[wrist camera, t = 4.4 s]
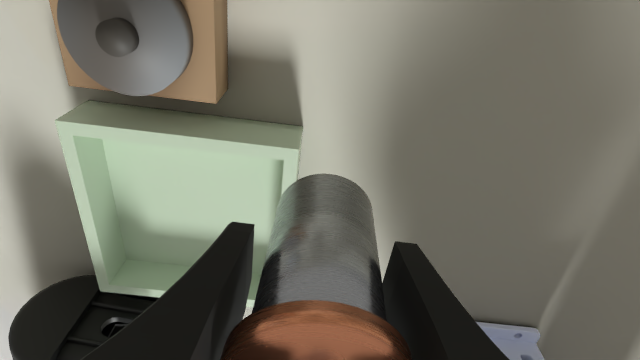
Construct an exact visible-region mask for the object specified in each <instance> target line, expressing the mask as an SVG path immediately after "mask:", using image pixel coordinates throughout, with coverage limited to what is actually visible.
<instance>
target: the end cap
mask: <svg viewBox="0 0 640 360" xmlns="http://www.w3.org/2000/svg"><path fill="white" fill-rule="evenodd" d="M158 298H159V297H149V296H140V295H130V294H121V293H111V292H101V291H100V289H99V285H98V282H97V278H96V275H86V276H80V277H74V278H70V279H67V280H63V281H61V282H58V283H56V284H53V285H51V286H49V287H48V288H46V289H44V290H42V291H41V292H39V293H38V294H36V295H35V296H34V297H32V298H31V299H30V300H29V301H28V302H27V303H26V304H25V305H24V306H23V307H22V308H21V309H20V311H19V312H18V313H17V315H16V316H15V318H14V320H13V322H12V324H11V327H10V332H9V346H10V351H11V354H12V357H13V360H80V359H82V358H83V357H85V356H86V355H88V354H89V353H90V352H92V351H93V350H95V349H96V348H97V347H99V346H100V345H101V344H103V343H104V342H105V341H107V340H108V339H109V338H111V337H112V336H113V335H115V334H116V333H117V332H119V331H120V330H121V329H123V328H124V327H125V326H126V325H128V324H129V323H130V322H131V321H133V320H134V319H135V318H136V317H138V316H139V315H140V314H141V313H142V312H143V311H145V310H146V309H147V308H148V307H149V306H150V305H152V304H153V303H154V302H155V301H156V300H157V299H158Z"/></svg>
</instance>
